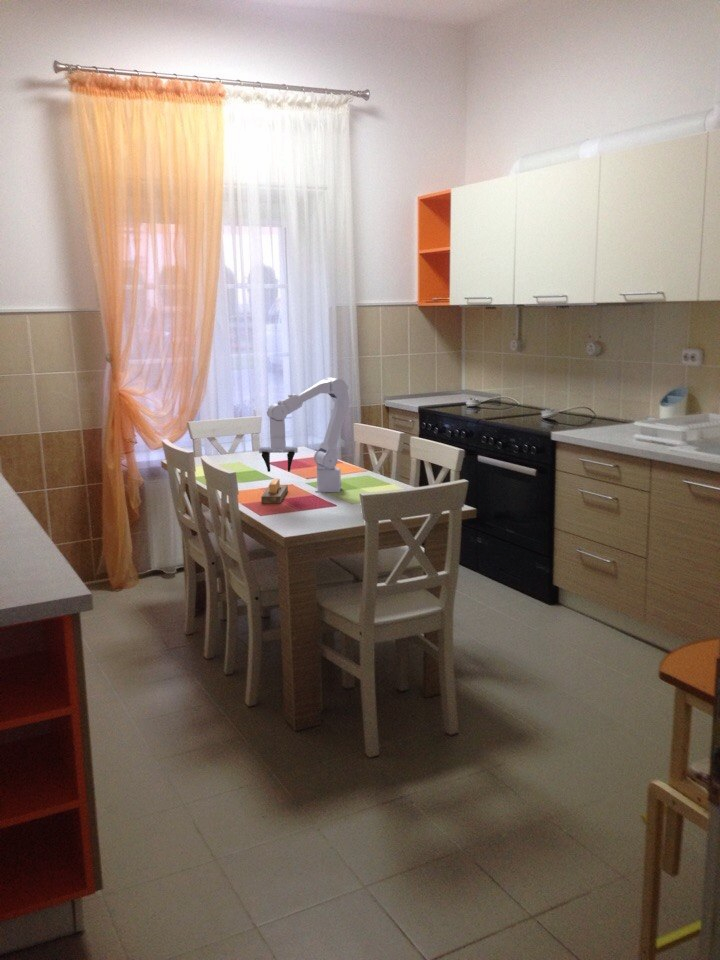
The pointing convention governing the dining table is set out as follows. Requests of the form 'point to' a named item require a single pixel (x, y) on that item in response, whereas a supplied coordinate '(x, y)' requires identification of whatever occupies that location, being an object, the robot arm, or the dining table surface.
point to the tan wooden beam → (274, 486)
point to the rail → (274, 495)
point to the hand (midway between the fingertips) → (279, 471)
